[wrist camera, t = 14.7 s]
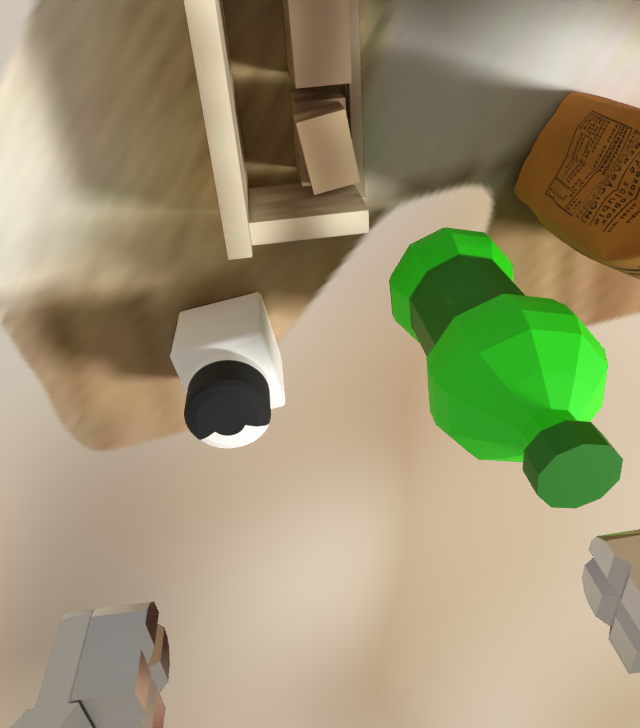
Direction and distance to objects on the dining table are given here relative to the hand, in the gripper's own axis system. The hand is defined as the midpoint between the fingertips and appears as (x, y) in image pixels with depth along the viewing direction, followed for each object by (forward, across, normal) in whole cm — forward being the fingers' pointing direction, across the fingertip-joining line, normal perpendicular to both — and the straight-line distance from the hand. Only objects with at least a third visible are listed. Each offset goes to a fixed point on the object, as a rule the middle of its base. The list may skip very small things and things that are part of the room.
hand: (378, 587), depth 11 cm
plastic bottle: (+38, -12, +11) cm, 41 cm away
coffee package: (+38, -24, +4) cm, 45 cm away
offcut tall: (+38, -3, -8) cm, 38 cm away
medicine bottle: (+38, +6, +15) cm, 41 cm away
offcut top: (+32, -3, -1) cm, 33 cm away
